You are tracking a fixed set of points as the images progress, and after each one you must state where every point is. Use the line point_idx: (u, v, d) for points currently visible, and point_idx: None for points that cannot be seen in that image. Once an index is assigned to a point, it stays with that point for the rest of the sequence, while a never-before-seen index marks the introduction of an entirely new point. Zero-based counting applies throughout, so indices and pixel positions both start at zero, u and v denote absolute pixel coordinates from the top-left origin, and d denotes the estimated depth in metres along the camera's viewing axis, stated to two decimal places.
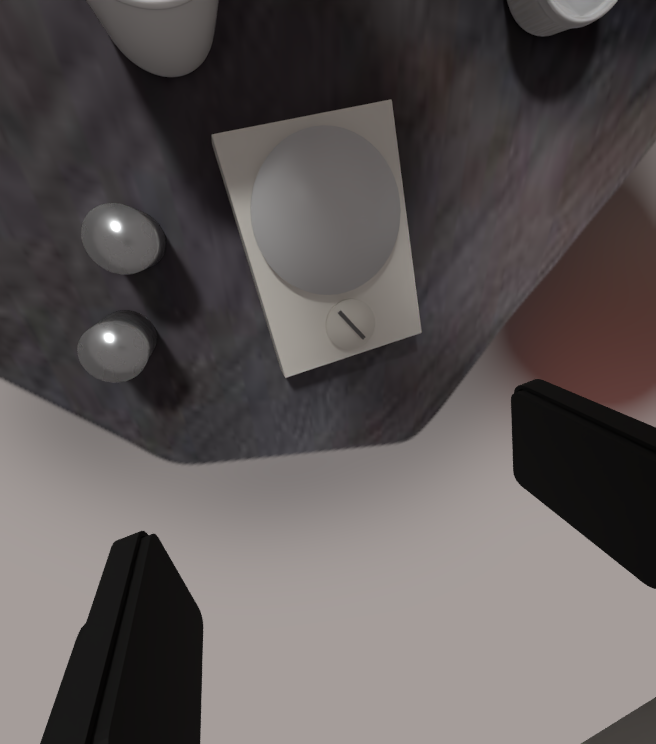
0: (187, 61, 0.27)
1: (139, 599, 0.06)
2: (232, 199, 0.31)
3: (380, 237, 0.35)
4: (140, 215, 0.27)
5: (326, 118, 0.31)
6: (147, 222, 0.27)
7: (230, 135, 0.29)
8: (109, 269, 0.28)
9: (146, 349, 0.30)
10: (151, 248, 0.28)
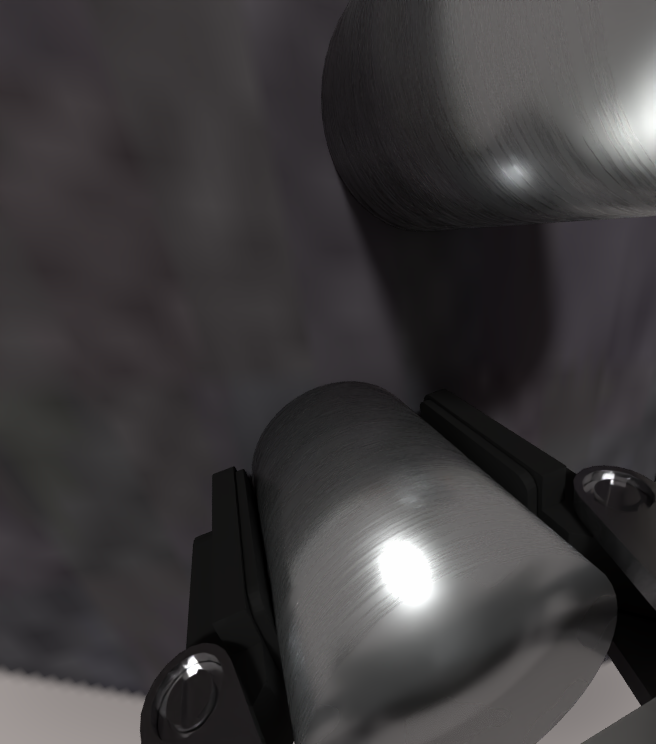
0: None
1: (249, 511, 0.07)
2: None
3: None
4: None
5: None
6: None
7: None
8: None
9: None
10: None
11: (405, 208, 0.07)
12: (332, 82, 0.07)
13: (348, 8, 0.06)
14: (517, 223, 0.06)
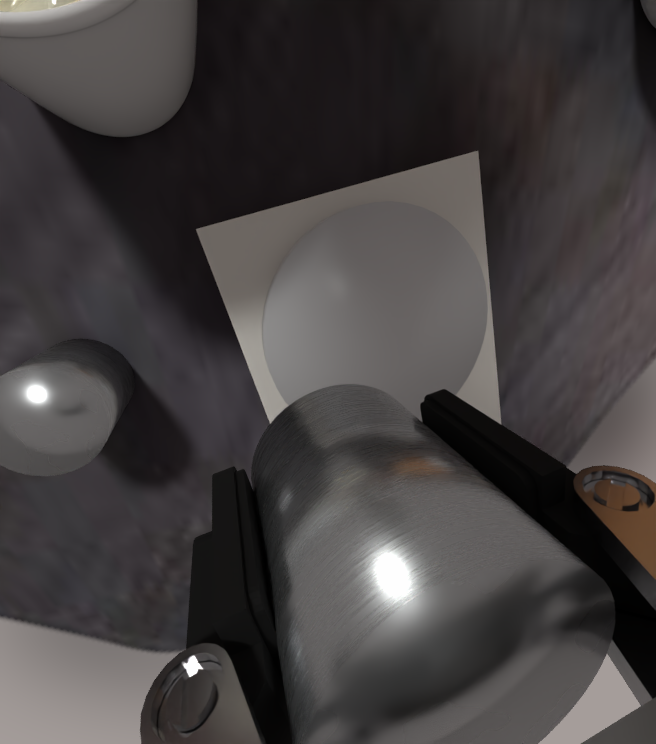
0: (149, 115, 0.16)
1: (249, 510, 0.07)
2: (233, 322, 0.19)
3: (457, 352, 0.23)
4: (73, 381, 0.15)
5: (378, 187, 0.19)
6: (87, 389, 0.16)
7: (226, 227, 0.18)
8: (31, 472, 0.16)
9: None
10: (99, 428, 0.16)
11: None
12: None
13: None
14: None
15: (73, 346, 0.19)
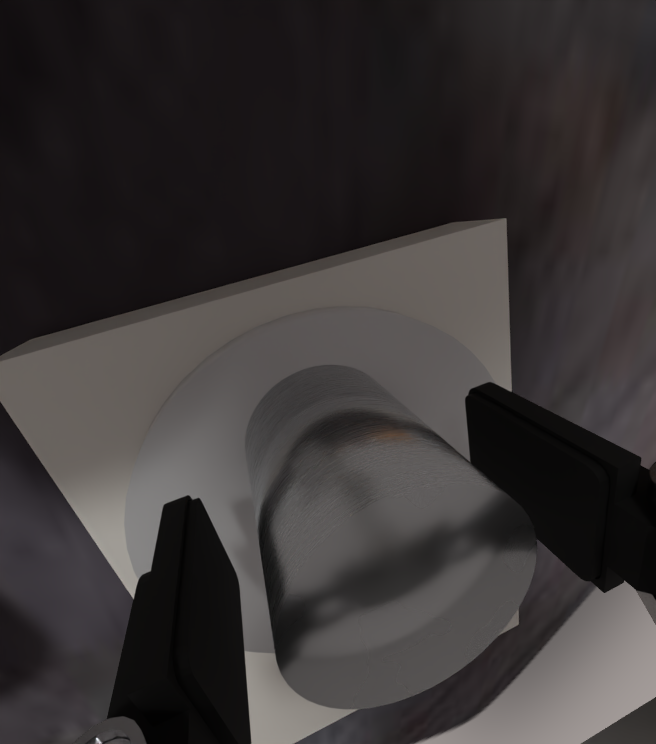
0: None
1: (195, 549, 0.07)
2: (76, 507, 0.11)
3: None
4: None
5: (336, 282, 0.11)
6: None
7: (44, 361, 0.10)
8: None
9: None
10: None
11: None
12: None
13: None
14: None
15: None
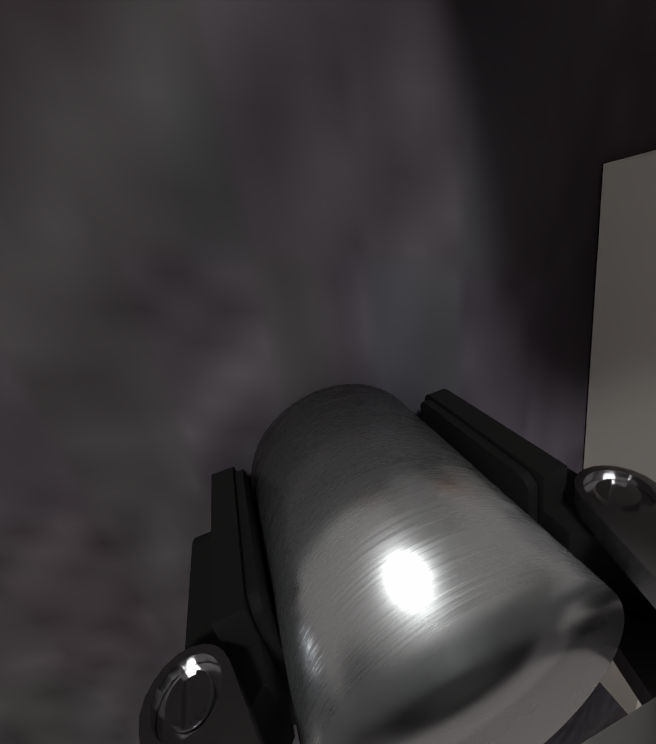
0: None
1: (248, 511, 0.07)
2: None
3: None
4: (563, 587, 0.04)
5: None
6: (591, 586, 0.05)
7: None
8: None
9: None
10: (601, 650, 0.06)
11: None
12: None
13: None
14: None
15: (345, 425, 0.08)
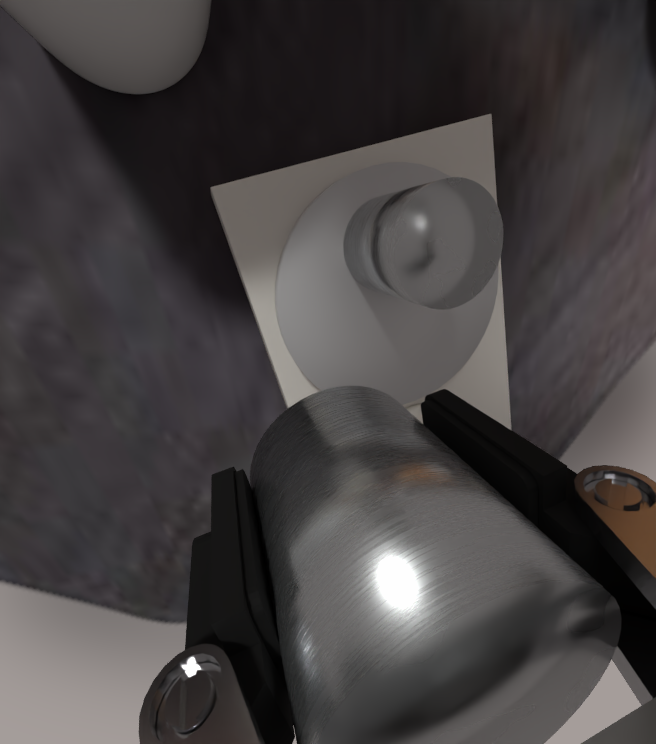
0: (164, 67, 0.15)
1: (248, 511, 0.07)
2: (246, 284, 0.19)
3: (468, 319, 0.23)
4: (560, 590, 0.04)
5: (392, 149, 0.19)
6: (588, 589, 0.05)
7: (241, 186, 0.18)
8: None
9: None
10: (599, 652, 0.06)
11: None
12: None
13: None
14: None
15: (343, 427, 0.08)
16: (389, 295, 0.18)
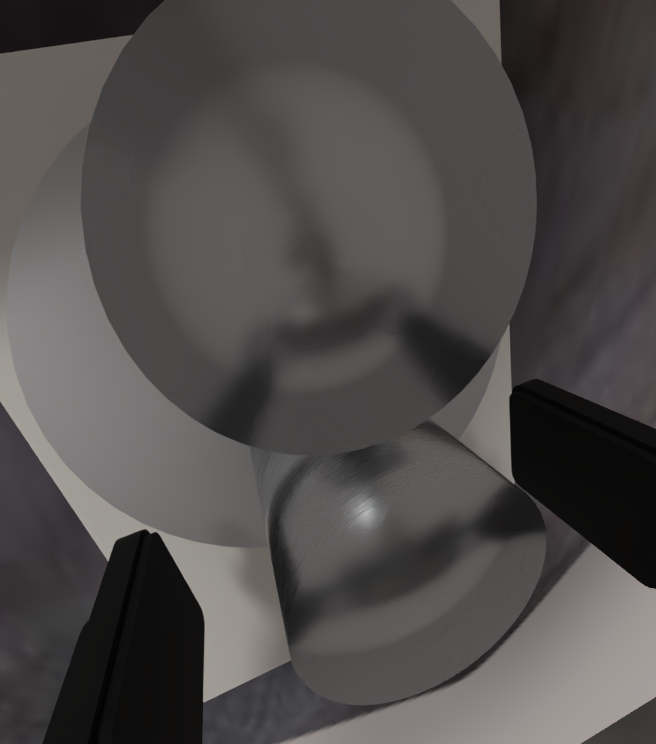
0: None
1: (142, 597, 0.06)
2: None
3: None
4: (481, 483, 0.06)
5: None
6: (508, 488, 0.06)
7: None
8: (418, 690, 0.07)
9: None
10: (530, 556, 0.07)
11: None
12: None
13: (254, 469, 0.10)
14: None
15: None
16: None
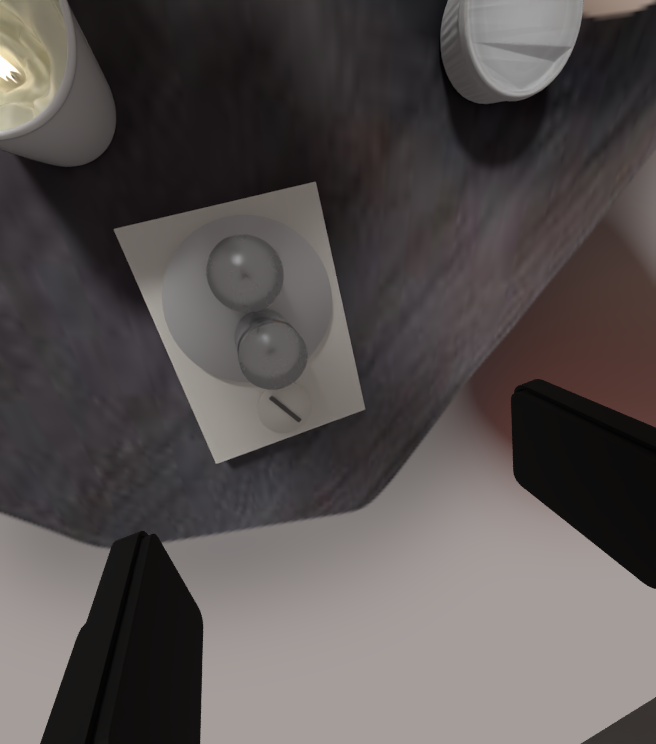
0: (79, 157, 0.25)
1: (139, 599, 0.06)
2: (142, 292, 0.29)
3: (310, 321, 0.33)
4: (281, 326, 0.26)
5: (243, 205, 0.29)
6: (289, 328, 0.26)
7: (135, 228, 0.27)
8: (276, 387, 0.27)
9: (282, 272, 0.25)
10: (302, 350, 0.27)
11: None
12: None
13: None
14: None
15: (256, 314, 0.29)
16: None
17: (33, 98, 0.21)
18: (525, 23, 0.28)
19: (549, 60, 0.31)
